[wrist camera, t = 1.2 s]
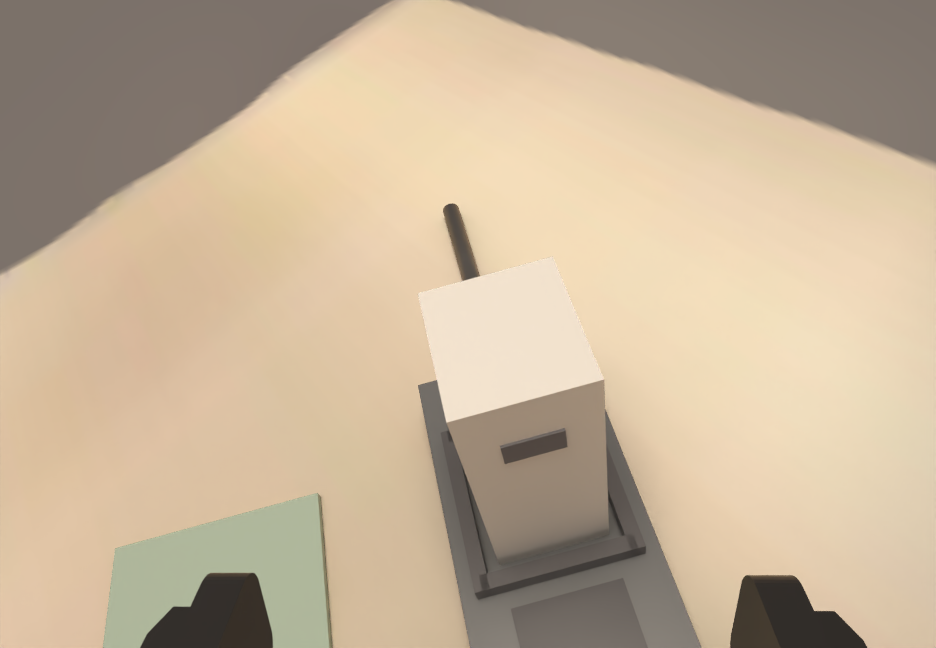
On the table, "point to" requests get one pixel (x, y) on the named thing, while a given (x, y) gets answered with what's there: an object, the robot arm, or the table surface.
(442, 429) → the strip
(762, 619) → the robot arm
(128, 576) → the mat
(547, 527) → the charger
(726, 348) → the table surface
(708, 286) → the table surface
